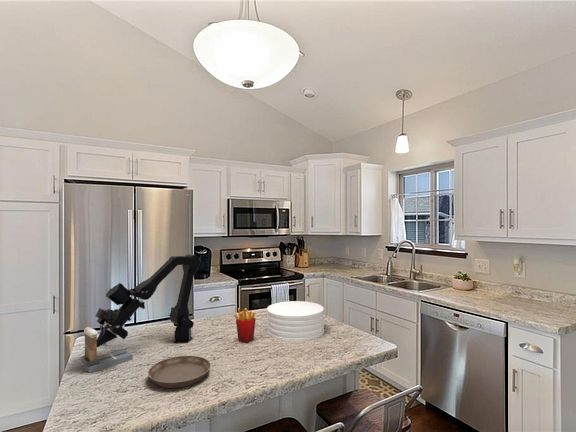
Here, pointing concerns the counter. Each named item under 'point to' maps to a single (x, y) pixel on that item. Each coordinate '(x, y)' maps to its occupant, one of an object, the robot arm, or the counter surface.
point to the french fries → (245, 326)
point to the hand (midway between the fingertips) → (94, 347)
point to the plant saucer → (179, 371)
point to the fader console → (110, 360)
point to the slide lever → (90, 347)
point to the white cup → (115, 341)
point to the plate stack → (295, 320)
